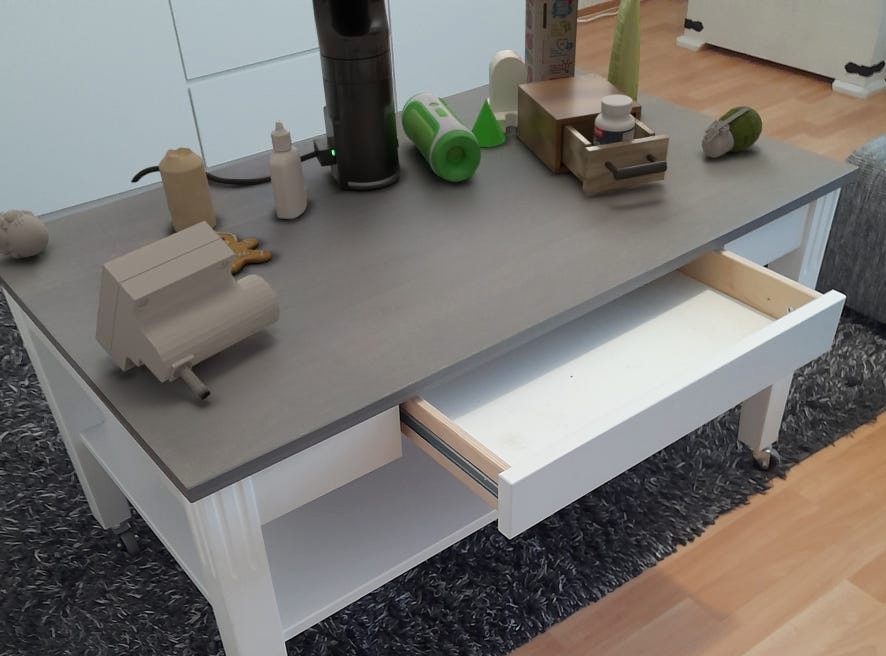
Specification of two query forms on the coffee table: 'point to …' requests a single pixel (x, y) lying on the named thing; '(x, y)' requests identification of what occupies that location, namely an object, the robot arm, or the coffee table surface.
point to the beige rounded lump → (22, 234)
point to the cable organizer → (506, 86)
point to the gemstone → (487, 128)
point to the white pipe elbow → (179, 305)
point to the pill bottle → (614, 121)
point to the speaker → (441, 137)
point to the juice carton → (550, 39)
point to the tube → (626, 49)
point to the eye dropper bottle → (286, 175)
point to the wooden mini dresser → (560, 111)
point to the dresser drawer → (613, 157)
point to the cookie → (244, 251)
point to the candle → (186, 189)
